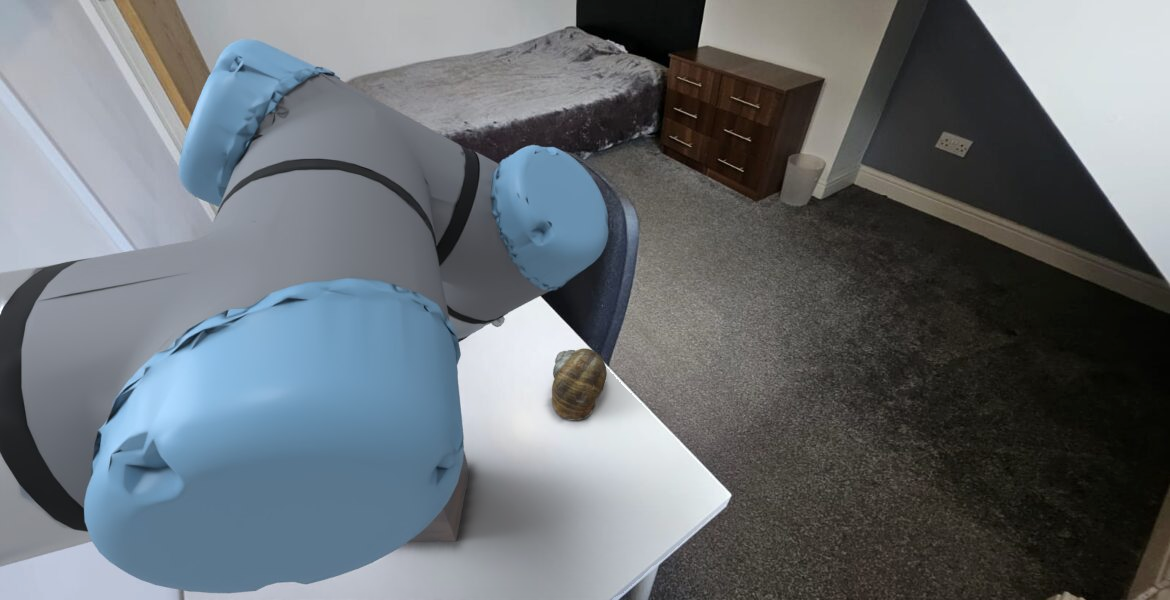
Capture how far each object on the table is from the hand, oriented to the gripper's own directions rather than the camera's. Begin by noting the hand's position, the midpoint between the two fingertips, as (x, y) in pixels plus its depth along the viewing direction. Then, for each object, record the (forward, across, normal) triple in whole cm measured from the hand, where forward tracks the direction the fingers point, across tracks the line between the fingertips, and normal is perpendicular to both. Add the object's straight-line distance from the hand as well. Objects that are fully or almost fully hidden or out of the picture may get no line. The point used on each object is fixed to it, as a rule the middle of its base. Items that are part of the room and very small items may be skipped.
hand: (346, 366), depth 51 cm
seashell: (+5, +24, -29) cm, 38 cm away
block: (+12, -2, -21) cm, 24 cm away
